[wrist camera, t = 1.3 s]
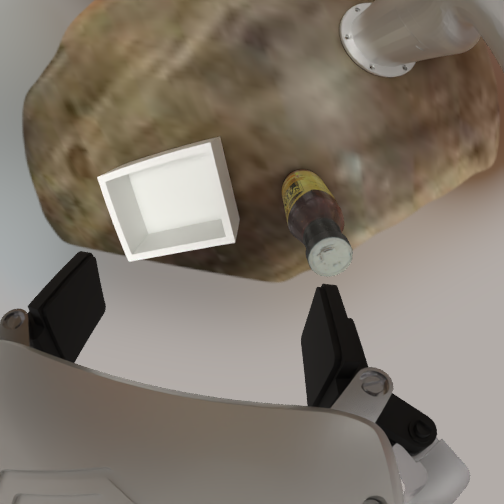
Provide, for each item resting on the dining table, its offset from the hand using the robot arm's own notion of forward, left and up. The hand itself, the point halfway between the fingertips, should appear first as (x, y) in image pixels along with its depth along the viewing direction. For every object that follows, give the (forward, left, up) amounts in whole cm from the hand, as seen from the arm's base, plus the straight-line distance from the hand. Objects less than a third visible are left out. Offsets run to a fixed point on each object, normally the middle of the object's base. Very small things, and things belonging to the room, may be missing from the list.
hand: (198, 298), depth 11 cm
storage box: (+11, +2, -32) cm, 34 cm away
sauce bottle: (-7, +6, -32) cm, 33 cm away
